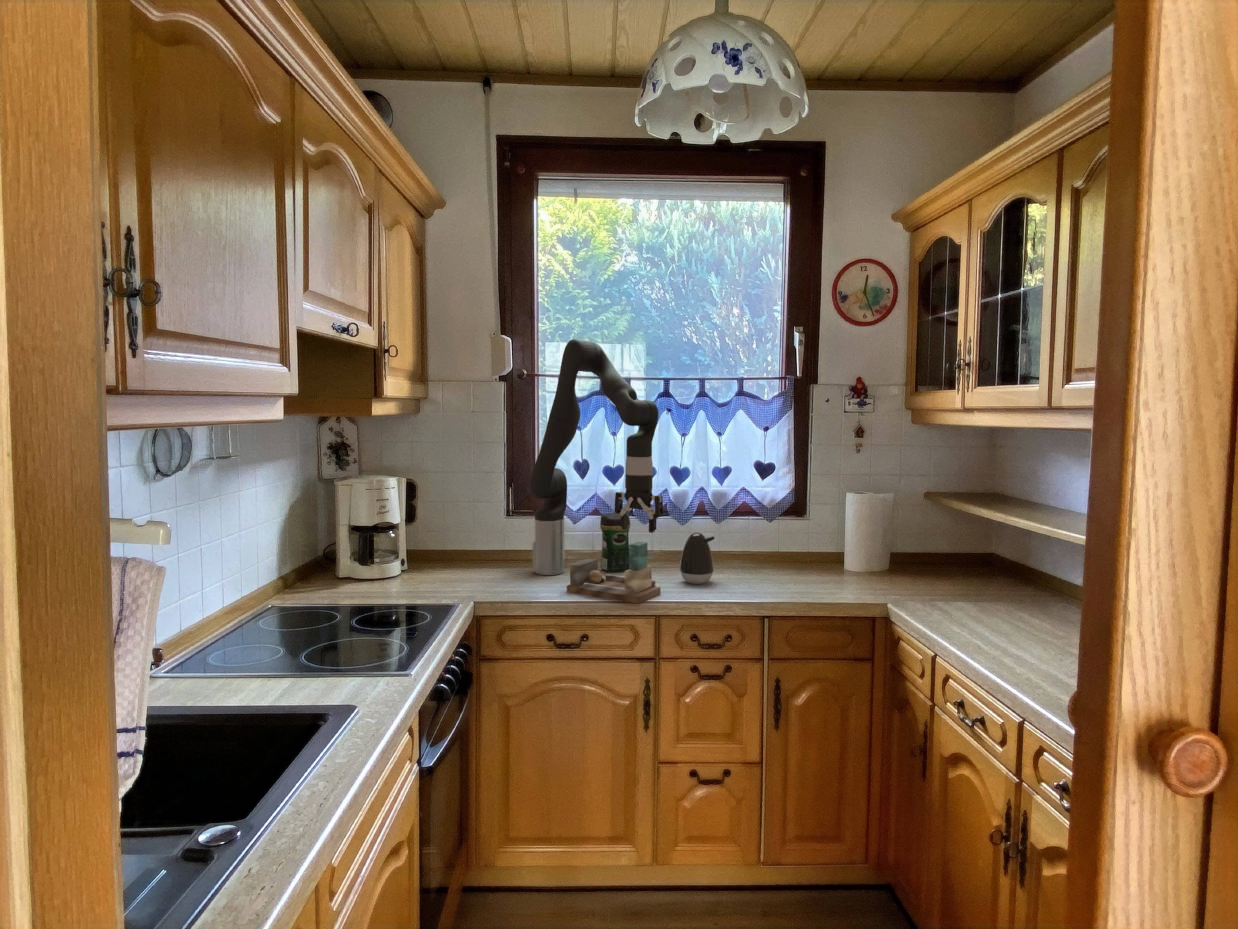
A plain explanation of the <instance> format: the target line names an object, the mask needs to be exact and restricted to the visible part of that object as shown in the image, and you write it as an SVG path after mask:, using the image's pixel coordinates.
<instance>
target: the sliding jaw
mask: <svg viewBox="0 0 1238 929" xmlns="http://www.w3.org/2000/svg"><path fill="white" fill-rule="evenodd" d="M652 568H653V567H652V565H651V564H650V565H649V564H648V542H646V541H645V542H644V541H636V542H633V543H629V570H625V571H624V576H625V588H626V589H632V590H635V593H638V592H640V591H642V590H644V589H647V588H649V587H651V586H652V577H653V576H652V572H653V570H652Z"/></svg>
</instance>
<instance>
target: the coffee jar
mask: <svg viewBox="0 0 1238 929" xmlns="http://www.w3.org/2000/svg"><path fill="white" fill-rule="evenodd" d="M627 516H628V529H622V527H621V516H620V514H618V513H615V512H609V513H603V514H600V524H599V527H600V529H601V534H602V536H601V537H602V540H601V541H602V543H601V554H600V569H601V570H602V571H603V572H610V573H611V572H613V573H616V572H617V573H619V572H625V571H626V570H629V544H630V543H629V542H630V541H629V540H630V539H629V532H630V528H631V519H630V515H629V513H628V514H627Z"/></svg>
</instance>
